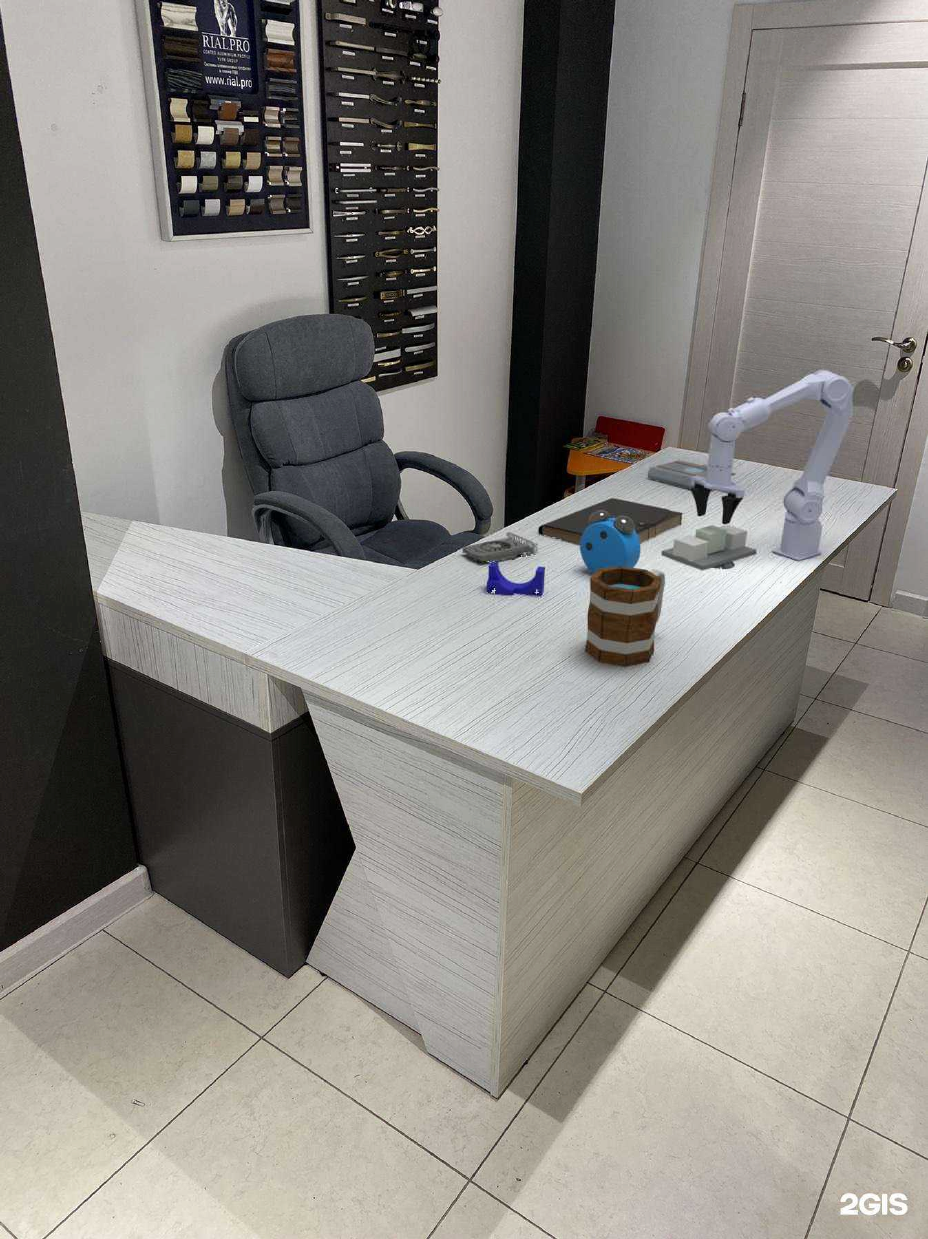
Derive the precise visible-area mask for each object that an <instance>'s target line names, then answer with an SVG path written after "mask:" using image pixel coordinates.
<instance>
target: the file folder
mask: <svg viewBox="0 0 928 1239" xmlns="http://www.w3.org/2000/svg"><path fill="white" fill-rule="evenodd" d="M596 510H597V511H600V510H604V511H607V512H608V513H609V515H613V516H615V517H613V518H617V517H619V516H627V517H629V518H630V519H631V520H632V521H633V522H634V525H635V529H634V530H635V532H636V533H637V535H638V538H639V541H640V545H641V544H642V543H644V542H645V541H649V539H652V538H655V537H656V536H658V535H659V534H662V533H663V532H665V531H667V530H670V529H673V528H676V527H678V526H681V525H682V520H683V514H684V512H680V511H675V510H671V509H668V508H664V507H659V506H653V505H649V504H644V503H639V502H634V501H629V500H623V499H619V498H614V497H613V498H609V499H606V500H603V501H600V502H598V503H595V504H592V505H591V506H588V507H585V508H583V509H580V510H577V511H575V512H572V513H570V514H567V515H564V516H562V517H559V518H556V519H555V520H552V521H548V522H546V523H544V524H541V525H539V527H538V534H539V535H540V534H541V535H542V536H544V535H546V536H545V537H547V536H550V537H549V538H551V537H555V538H556V539H555V538H554V539H555V540H558V539H561V540H560V541H562V542H565V543H570V544H573V545H577V546H580V541H581V537H582V535H583V533H584V531H585V530H586V529H587V528H588V527H589V526H590V525H592V524H594V523H597V522H600V521H596V522H593V523H589V518H590V516H591V514H593V513H594V512H596ZM608 518H612V517H607V518H605V519H608ZM605 519H602V520H605ZM602 520H601V521H602ZM542 533H543V534H542Z"/></svg>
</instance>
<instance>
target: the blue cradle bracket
mask: <svg viewBox="0 0 928 1239" xmlns="http://www.w3.org/2000/svg"><path fill="white" fill-rule="evenodd" d="M545 571H546V567H545V566H539V565H538V566H537V568H536V570H535V574H534V576H533V578H532V579H530V580H529V581H526V582H522V583H521V582H520V583H519V582H517V583H516V582H513V581H511V580H508V579H507V578H506V577H505V576H504V575H503V574H502V573H501V570H500V567H499V561H497V562H491V563H489V566H488V576H487V577H488V578H487V580H486V593H487V592H488V593H487V594H489V593H491V592H492V590H494V588H495V590H496V591H495V594H494V595H498V594H501V595H500V596H507V595H522V594H525V595H526V596H532V595H537V596H536V597H542V596H543V594H544V592H545V576H546V575H545V573H546V572H545ZM536 590H537V592H539V593H537V594H536V593H535V592H536ZM514 593H516V594H514ZM525 595H524V596H525Z"/></svg>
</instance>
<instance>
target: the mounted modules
mask: <svg viewBox="0 0 928 1239" xmlns="http://www.w3.org/2000/svg"><path fill="white" fill-rule="evenodd" d="M718 527H719V528H722V529H725V530H727V532H726V540H725V547H727V549H729V550H734V549H737V548H741V547H744V546H746V543H747V542H746V541H747V537H748V536H747V535H748V530H746V529H742V528H740V527H737V526H734V525H730V524H725V525H721V526H718ZM708 545H709V542H708V541H705V540H702V539H699V538H696V537H695V536H694V535H691V534H688V535H685V536H682V537H678V538H675V539H674V541H673V547H672V548H673V555H674V556H679V557H680V556H681V557H680V558H683V557H684V558H683V559H685V560H688V561H691V562H693V561H697V560H700V559H704V558H707V554H708Z"/></svg>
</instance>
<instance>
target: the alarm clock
mask: <svg viewBox="0 0 928 1239" xmlns="http://www.w3.org/2000/svg"><path fill="white" fill-rule="evenodd" d="M607 517H612V518H608V519H605V518H607ZM613 517H615V516H613V515H609V513H608V512H607V511H604V510H600V511H597V510H596V512H594V513H593V514H591V516H590V518H589V523H593V522H596V521H600V522H597V523H594V524H592V525H590V526H589V527H588V528H587V529H586V530H585V531H584V533H583V535H582V537H581V541H580V545H579V550H580V555H581V559H582V561H583V563H584V565H585V566H586V568H587V569H588V570H589V571H590V572H591V573H592V574H594V572H595V571H596V570H597V569H603V568H609V567H616V566H624V567H631V568H635V566H636V565H637V564H638V562H639V559H640V556H641V544H640V541H639V538H638V535H637V533H636V532H635V530H634V529H635V525H634V522H633V521H632V520H631V519H630V518H629V517H627V516H619V517H617V518H613ZM602 519H605V520H602ZM601 520H602V521H601Z"/></svg>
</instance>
